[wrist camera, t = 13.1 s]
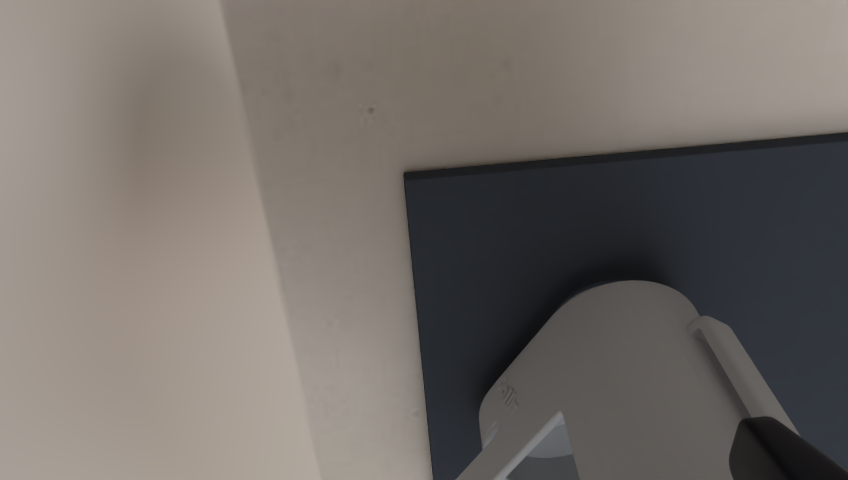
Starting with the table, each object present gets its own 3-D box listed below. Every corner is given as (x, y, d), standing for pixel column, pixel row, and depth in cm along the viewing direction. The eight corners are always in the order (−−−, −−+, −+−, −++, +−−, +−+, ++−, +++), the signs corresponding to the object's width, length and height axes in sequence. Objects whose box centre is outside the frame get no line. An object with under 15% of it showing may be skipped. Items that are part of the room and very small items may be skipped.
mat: (442, 576, 34) (443, 588, 34) (403, 172, 21) (404, 180, 20) (816, 540, 34) (823, 551, 34) (1008, 117, 21) (1023, 125, 21)
